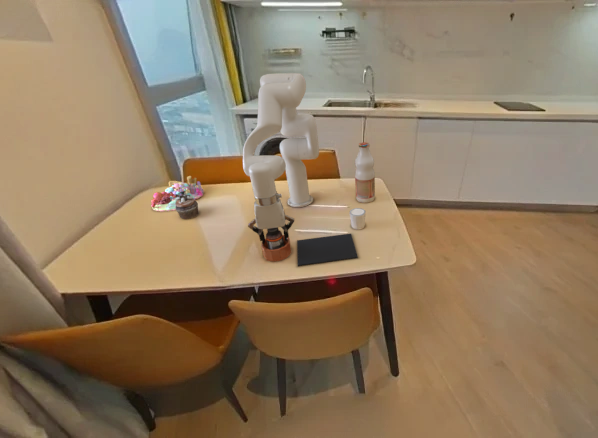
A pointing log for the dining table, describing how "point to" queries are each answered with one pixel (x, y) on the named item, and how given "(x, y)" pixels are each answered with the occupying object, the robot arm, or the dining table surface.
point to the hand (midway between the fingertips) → (275, 240)
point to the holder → (276, 251)
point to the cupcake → (186, 206)
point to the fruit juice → (364, 174)
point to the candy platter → (175, 194)
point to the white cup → (357, 218)
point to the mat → (325, 249)
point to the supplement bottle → (274, 238)
